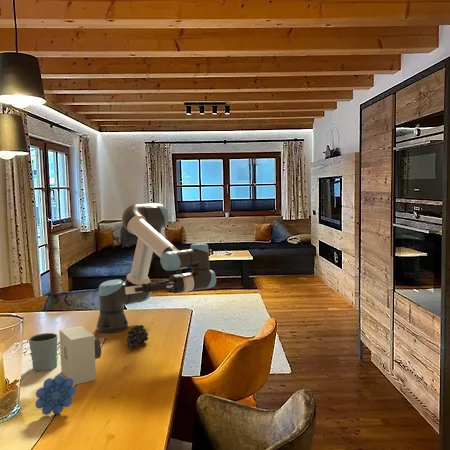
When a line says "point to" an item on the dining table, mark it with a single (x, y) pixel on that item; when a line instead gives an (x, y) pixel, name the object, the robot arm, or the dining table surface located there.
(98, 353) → the knob
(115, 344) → the dining table surface
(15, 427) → the dining table surface
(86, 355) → the cream rectangular block
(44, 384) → the grapes
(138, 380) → the dining table surface
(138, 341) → the fruit
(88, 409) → the dining table surface
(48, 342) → the grey-green cup
